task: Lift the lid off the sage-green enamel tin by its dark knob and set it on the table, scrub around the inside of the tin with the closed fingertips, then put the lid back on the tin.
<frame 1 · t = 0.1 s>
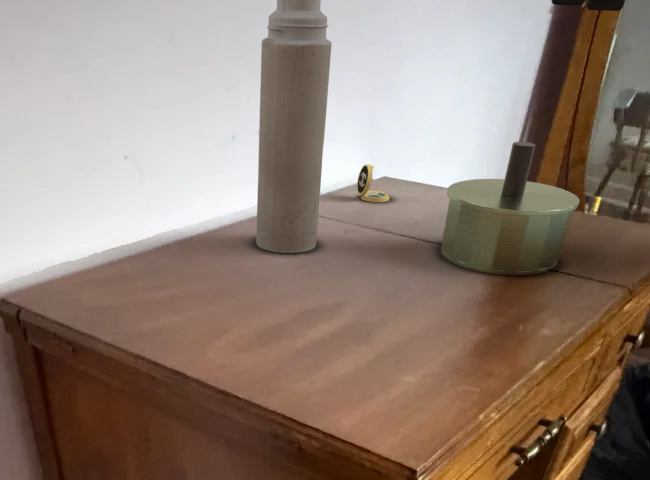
hand: (584, 7, 69), 26 cm above the table, tool pointing down, fingers open, 9 cm apart
lid: (511, 198, 89), point 7 cm above the table, touching tin
eyeshadow: (373, 200, 115), on the table
thermos bottle: (286, 245, 96), on the table
tin: (497, 256, 93), on the table
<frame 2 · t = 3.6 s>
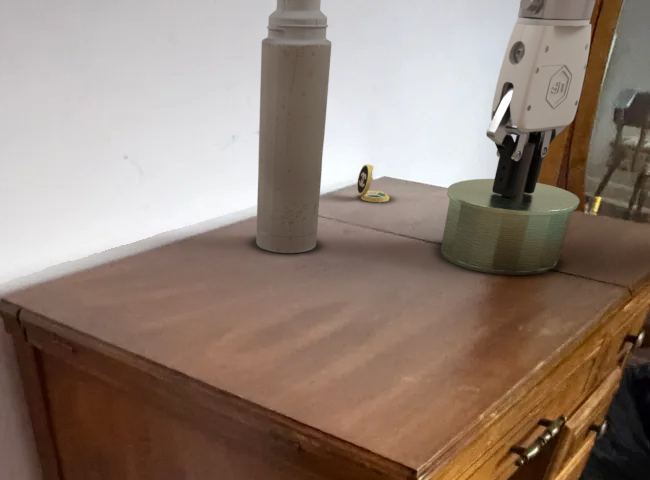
hand: (513, 191, 88), 8 cm above the table, tool pointing down, fingers closed on lid, 2 cm apart
lid: (511, 198, 89), point 7 cm above the table, touching gripper, tin
everything else where it was.
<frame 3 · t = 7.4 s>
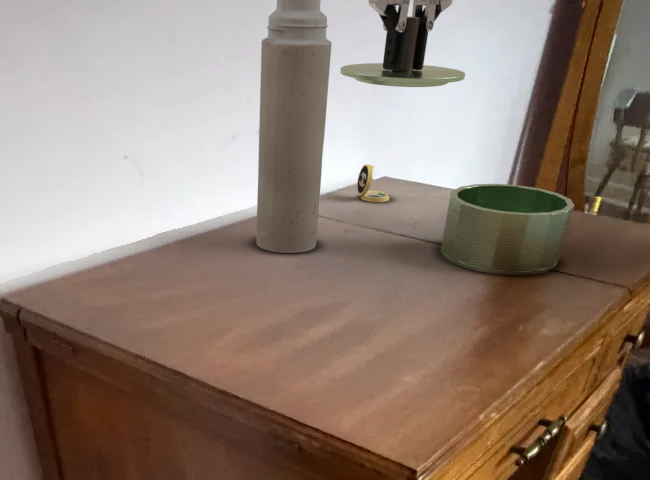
hand: (402, 67, 91), 19 cm above the table, tool pointing down, fingers closed on lid, 2 cm apart
lid: (401, 75, 92), point 18 cm above the table, touching gripper
everything else where it was.
when the fingers open (1 cm above the table, at t = 11.3 s): lid stays where it is, point 1 cm above the table.
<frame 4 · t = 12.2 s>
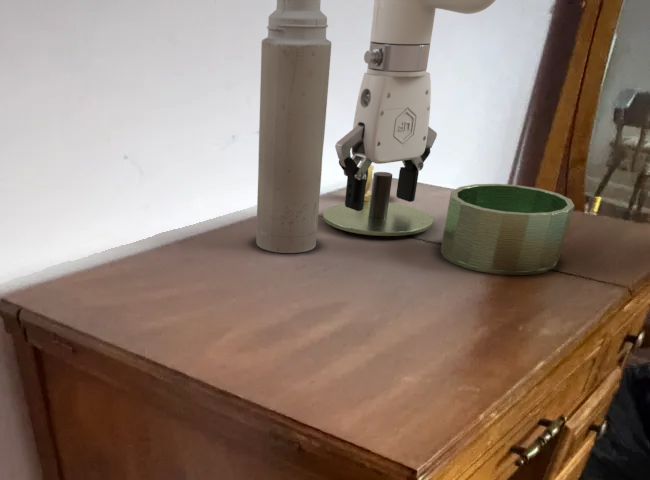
hand: (379, 204, 102), 3 cm above the table, tool pointing down, fingers open, 9 cm apart
lid: (377, 219, 103), point 1 cm above the table
everything else where it was.
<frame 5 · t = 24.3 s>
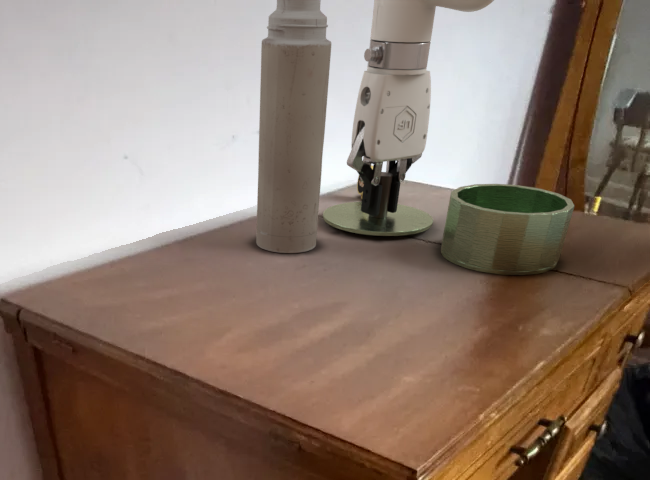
hand: (378, 210, 103), 2 cm above the table, tool pointing down, fingers closed on lid, 2 cm apart
lid: (377, 219, 103), point 1 cm above the table, touching gripper
everything else where it was.
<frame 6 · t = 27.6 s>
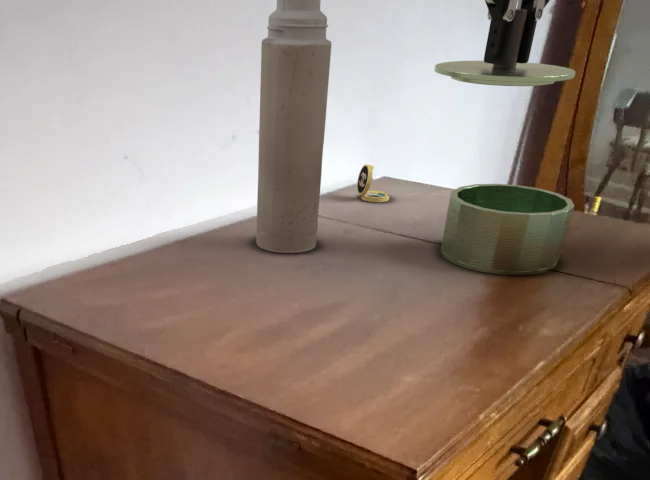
hand: (505, 61, 83), 21 cm above the table, tool pointing down, fingers closed on lid, 2 cm apart
lid: (502, 73, 84), point 20 cm above the table, touching gripper
everything else where it was.
when the fingers open (8 cm above the table, at t = 31.1 s): lid stays where it is, resting on tin.
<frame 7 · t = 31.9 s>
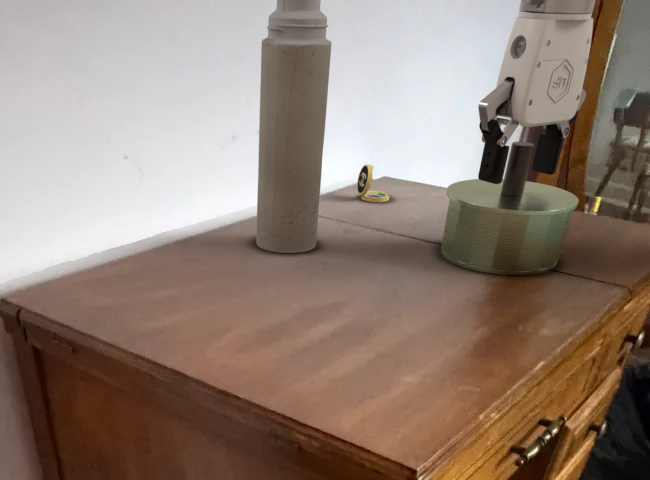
hand: (516, 176, 87), 9 cm above the table, tool pointing down, fingers open, 9 cm apart
lid: (510, 198, 89), point 7 cm above the table, touching tin
everything else where it was.
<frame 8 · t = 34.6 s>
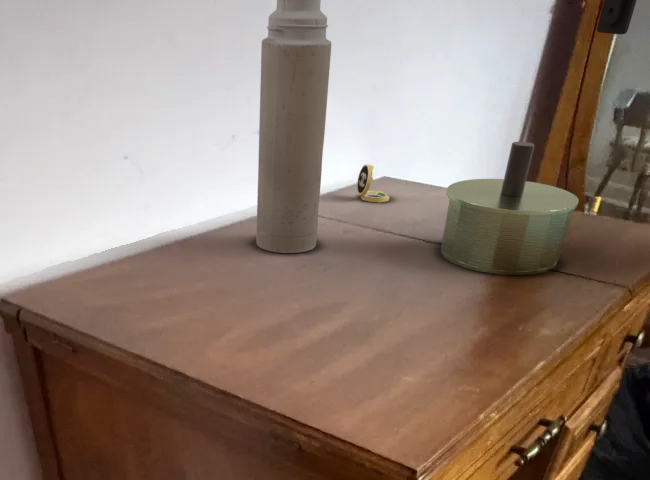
hand: (639, 31, 75), 24 cm above the table, tool pointing down, fingers open, 9 cm apart
nothing on the table moved.
at the end: lid 0.1 cm off-centre on the tin, point 7.0 cm above the tin's base; lid tilted 0° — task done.
